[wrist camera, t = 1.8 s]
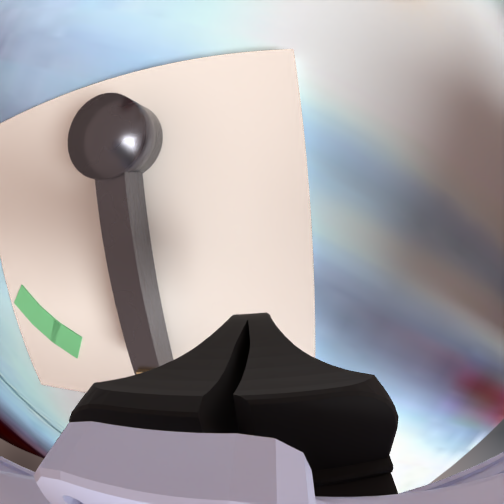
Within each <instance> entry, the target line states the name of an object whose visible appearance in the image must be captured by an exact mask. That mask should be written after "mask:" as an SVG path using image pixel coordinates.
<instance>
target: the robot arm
mask: <svg viewBox="0 0 504 504" xmlns="http://www.w3.org/2000/svg"><path fill="white" fill-rule="evenodd" d="M397 426H398V414H397V411H396V408H395V406H394V404H393V402H392V400H391V398H390V396H389V395H388V393H387V392H386V390H385V389H384V387H383V386H382V385H381V384H380V382H379V381H378V380H377V378H376V377H375V376H374V375H371V374H365V373H360V372H354V371H349V370H345V369H342V368H339V367H336V366H332V365H330V364H327V363H325V362H322V361H320V360H318V359H316V358H314V357H312V356H310V355H309V354H307V353H305V352H304V351H302V350H301V349H299V348H298V347H297V346H295V345H294V344H293V343H292V342H291V341H290V340H289V339H288V338H287V337H286V336H285V335H284V334H283V333H282V332H281V331H280V330H279V328H278V327H277V326H276V324H275V323H274V322H273V320H272V318H271V316H270V314H268V313H252V314H236V315H232V316H231V317H230V318H229V319H228V320H227V321H226V322H225V323H224V324H223V325H222V326H221V327H220V328H218V329H217V330H216V331H215V332H214V333H213V334H212V335H211V336H209V337H208V338H207V339H205V340H204V341H203V342H202V343H200V344H199V345H198V346H196V347H195V348H193V349H192V350H190V351H189V352H187V353H185V354H184V355H182V356H180V357H178V358H177V359H175V360H173V361H170V362H168V363H166V364H164V365H161V366H159V367H157V368H154V369H152V370H149V371H146V372H143V373H140V374H136V375H133V376H129V377H125V378H120V379H115V380H109V381H103V382H96V383H93V385H92V386H91V387H90V388H89V390H88V391H87V392H86V394H85V395H84V396H83V398H82V399H81V400H80V402H79V403H78V405H77V406H76V407H75V409H74V410H73V411H72V413H71V416H70V419H69V424H68V425H67V427H66V428H65V429H64V431H63V432H62V434H61V435H60V436H59V438H58V439H57V441H56V442H55V444H54V445H53V447H52V448H51V449H50V451H49V452H48V454H47V455H46V457H45V458H44V460H43V461H42V463H41V464H40V466H39V467H38V469H37V471H36V472H33V471H31V470H29V469H27V468H24V467H22V466H20V465H18V464H16V463H13V462H11V461H9V460H7V459H5V458H3V457H1V456H0V504H504V452H502V453H500V454H498V455H497V456H495V457H493V458H491V459H489V460H487V461H485V462H482V463H480V464H478V465H476V466H474V467H472V468H469V469H467V470H465V471H462V472H460V473H457V474H455V475H452V476H450V477H447V478H445V479H442V480H439V481H437V482H434V483H431V484H428V485H425V486H422V487H419V488H416V489H413V490H409V491H406V492H403V493H399V494H398V492H397V489H396V486H395V483H394V481H393V478H392V475H391V472H392V470H393V464H392V461H391V459H390V456H389V454H390V451H391V448H392V444H393V441H394V437H395V434H396V431H397Z"/></svg>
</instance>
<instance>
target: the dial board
mask: <svg viewBox="0 0 504 504" xmlns="http://www.w3.org/2000/svg"><path fill="white" fill-rule="evenodd" d="M104 93H118V94H122V95H124V96H126V97H128V98H130V99H132V100H133V101H135V102H137V103H139V104H141V105H142V106H144V107H146V108H148V109H149V110H151V111H152V112H153V113H154V114H155V115H156V116H157V118H158V120H159V122H160V124H161V127H162V132H163V142H162V147H161V151H160V153H159V155H158V157H157V159H156V161H155V162H154V164H153V165H152V166H151V167H150V168H149V169H148V170H147V171H145V172H144V173H143V183H144V192H145V201H146V209H147V217H148V225H149V232H150V239H151V246H152V253H153V259H154V265H155V271H156V277H157V283H158V288H159V294H160V299H161V304H162V309H163V314H164V319H165V324H166V329H167V333H168V338H169V342H170V347H171V351H172V355H173V359H174V360H175V359H177V358H178V357H180V356H182V355H184V354H185V353H187V352H189V351H190V350H192V349H193V348H195V347H196V346H198V345H199V344H200V343H202V342H203V341H204V340H205V339H207V338H208V337H209V336H211V335H212V334H213V333H214V332H215V331H216V330H217V329H218V328H220V327H221V326H222V325H223V324H224V323H225V322H226V321H227V320H228V319H229V318H230V317H231V316H232V315H236V314H252V313H268V314H270V316H271V318H272V320H273V322H274V323H275V324H276V326H277V327H278V328H279V330H280V331H281V332H282V333H283V334H284V335H285V336H286V337H287V338H288V339H289V340H290V341H291V342H292V343H293V344H294V345H295V346H297V347H298V348H299V349H301V350H302V351H304V352H305V353H307V354H309V355H310V356H312V357H314V358H315V298H314V267H313V245H312V227H311V210H310V196H309V183H308V170H307V159H306V148H305V138H304V128H303V119H302V110H301V101H300V93H299V85H298V78H297V70H296V63H295V56H294V49H281V50H264V51H252V52H241V53H232V54H224V55H217V56H210V57H203V58H197V59H191V60H186V61H180V62H175V63H170V64H166V65H161V66H157V67H152V68H148V69H144V70H140V71H136V72H132V73H129V74H125V75H121V76H118V77H115V78H111V79H108V80H105V81H101V82H98V83H95V84H92V85H89V86H86V87H84V88H81V89H78V90H75V91H72V92H70V93H67V94H64V95H62V96H59V97H57V98H54V99H52V100H49V101H47V102H45V103H42V104H40V105H38V106H36V107H33V108H31V109H29V110H27V111H25V112H22V113H20V114H18V115H16V116H14V117H12V118H10V119H8V120H6V121H4V122H2V123H0V257H1V262H2V267H3V271H4V275H5V280H6V284H7V288H8V291H9V295H10V299H11V302H12V306H13V309H14V313H15V316H16V319H17V322H18V325H19V328H20V331H21V334H22V337H23V340H24V343H25V345H26V348H27V351H28V353H29V356H30V358H31V361H32V363H33V366H34V368H35V371H36V373H37V375H38V378H39V380H40V382H41V384H42V385H47V386H52V387H57V388H63V389H68V390H74V391H80V392H87V391H88V390H89V388H90V387H91V386H92V385H93V383H96V382H103V381H109V380H115V379H120V378H125V377H129V376H133V375H135V374H134V370H133V367H132V364H131V361H130V357H129V354H128V351H127V347H126V344H125V340H124V336H123V333H122V329H121V325H120V321H119V317H118V313H117V309H116V305H115V300H114V296H113V291H112V287H111V282H110V277H109V272H108V267H107V262H106V256H105V251H104V245H103V239H102V233H101V226H100V219H99V212H98V204H97V195H96V186H95V179H91V178H89V177H86V176H84V175H83V174H81V173H80V172H79V171H78V170H77V169H76V168H75V166H74V165H73V163H72V161H71V159H70V156H69V152H68V133H69V129H70V126H71V123H72V121H73V119H74V117H75V115H76V113H77V112H78V111H79V109H80V108H81V107H82V106H83V105H84V104H85V103H86V102H87V101H89V100H90V99H92V98H94V97H95V96H98V95H100V94H104Z"/></svg>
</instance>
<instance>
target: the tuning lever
mask: <svg viewBox="0 0 504 504" xmlns="http://www.w3.org/2000/svg"><path fill="white" fill-rule="evenodd" d="M162 142H163V132H162V127H161V124H160V122H159V120H158V118H157V116H156V115H155V114H154V113H153V112H152V111H151V110H149V109H148V108H146V107H144V106H142V105H141V104H139V103H137V102H135V101H133V100H132V99H130V98H128V97H126V96H124V95H122V94H118V93H104V94H100V95H98V96H95V97H94V98H92V99H90V100H89V101H87V102H86V103H85V104H84V105H83V106H82V107H81V108H80V109H79V111H78V112H77V113H76V115H75V117H74V119H73V121H72V123H71V126H70V129H69V133H68V152H69V156H70V159H71V161H72V163H73V165H74V166H75V168H76V169H77V170H78V171H79V172H80V173H81V174H83V175H84V176H86V177H89V178H91V179H95V186H96V195H97V204H98V212H99V219H100V226H101V233H102V239H103V245H104V251H105V256H106V262H107V267H108V272H109V277H110V282H111V287H112V291H113V296H114V300H115V305H116V309H117V313H118V317H119V321H120V325H121V329H122V333H123V336H124V340H125V344H126V347H127V351H128V354H129V357H130V361H131V364H132V367H133V370H134V374H135V375H136V374H140V373H143V372H146V371H149V370H152V369H154V368H157V367H159V366H161V365H164V364H166V363H168V362H170V361H173V360H174V359H173V355H172V351H171V347H170V342H169V338H168V333H167V329H166V324H165V319H164V314H163V309H162V304H161V299H160V294H159V288H158V283H157V277H156V271H155V265H154V259H153V253H152V246H151V239H150V232H149V225H148V217H147V209H146V201H145V192H144V183H143V173H144V172H145V171H147V170H148V169H149V168H150V167H151V166H152V165H153V164H154V162H155V161H156V159H157V157H158V155H159V153H160V151H161V147H162Z"/></svg>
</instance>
